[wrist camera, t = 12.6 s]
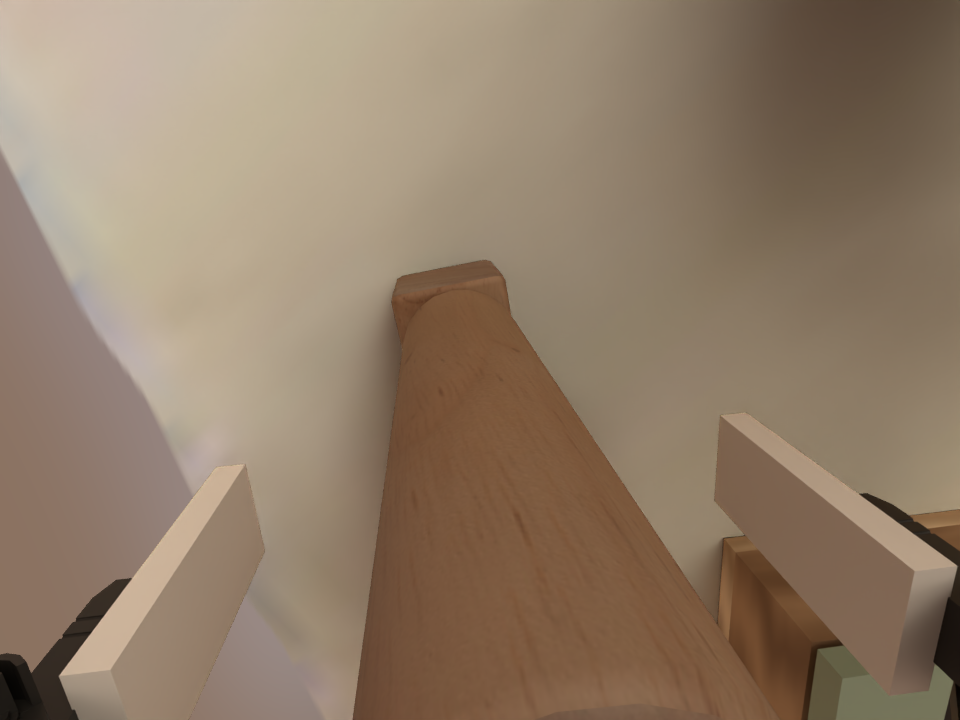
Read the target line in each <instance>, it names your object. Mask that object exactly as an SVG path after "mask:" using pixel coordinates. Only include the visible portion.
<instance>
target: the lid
mask: <svg viewBox="0 0 960 720" xmlns="http://www.w3.org/2000/svg"><path fill="white" fill-rule="evenodd" d="M952 685H953V680H952V679H951V678H949V677H948V676H947V675H946V674H945V673H944V672H943V671H942V670H941V669H940V668H939V667H938V666H937V665H936V664H935V666H934V670H933V674H932V679H931V683H930V687H929V691H922V692H915V693H907V694H900V695H893V696H889V695H888V694H887V693H886V692H885V691H884V689H883V688H882V687H881V686H880V685H879V684H878V683H877V682H876V681H875V679H874V678H873V677H872V676H871V675H870V674H869V673H868V672H867V671H866V669H865V668H864V667H863V666H862V665H861V664H860V663H859V662H858V660H857V659H856V658H855V657H854V656H853V655H852V654H851V653H850V652H849V650H848V649H847V648H846V647H845V646H837V647H830V648H822V649H818V650H817V657H816V664H815V671H814V678H813V685H812V692H811V699H810V706H809V713H808V720H944V718H945V713H946V709H947V705H948V701H949V697H950V693H951V689H952Z"/></svg>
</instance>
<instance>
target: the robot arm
mask: <svg viewBox="0 0 960 720" xmlns="http://www.w3.org/2000/svg"><path fill="white" fill-rule="evenodd" d="M714 501H715V502H716V503H717V504H718V505H719V506H720V507H721V509H722V510H723V511H724V512H725V513H726V514H727V515H728V516H729V518H730V519H731V520H732V521H733V522H734V523H735V524H736V525H737V526H738V528H739V529H740V530H741V531H742V532H743V533H744V534H745V535H746V536H747V538H748V539H749V540H750V541H751V542H752V543H753V544H754V545H755V547H756V548H757V549H758V550H759V551H760V552H761V553H762V554H763V555H764V557H765V558H766V559H767V560H768V561H769V562H770V563H771V564H772V566H773V567H774V568H775V569H776V570H777V571H778V572H779V573H780V574H781V576H782V577H783V578H784V579H785V580H786V581H787V582H788V583H789V585H790V586H791V587H792V588H793V589H794V590H795V591H796V592H797V593H798V595H799V596H800V597H801V598H802V599H803V600H804V601H805V602H806V603H807V605H808V606H809V607H810V608H811V609H812V610H813V611H814V612H815V614H816V615H817V616H818V617H819V618H820V619H821V620H822V621H823V622H824V624H825V625H826V626H827V627H828V628H829V629H830V630H831V631H832V633H833V634H834V635H835V636H836V637H837V638H838V639H839V640H840V641H841V643H842V644H843V645H844V646H845V647H846V648H847V649H848V650H849V652H850V653H851V654H852V655H853V656H854V657H855V658H856V659H857V660H858V662H859V663H860V664H861V665H862V666H863V667H864V668H865V669H866V671H867V672H868V673H869V674H870V675H871V676H872V677H873V678H874V679H875V681H876V682H877V683H878V684H879V685H880V686H881V687H882V688H883V689H884V691H885V692H886V693H887V694H888V695H889V696H893V695H900V694H907V693H915V692H922V691H929V687H930V683H931V679H932V674H933V670H934V666H935V664H936V665H937V666H938V667H939V668H940V669H941V670H942V671H943V672H944V673H945V674H946V675H947V676H948V677H949V678H951V679H952V680H953V685H952V689H951V693H950V697H949V701H948V705H947V709H946V713H945V718H944V720H960V551H959V550H958V549H956V548H955V547H953V546H952V545H950V544H949V543H947V542H946V541H945V540H943V539H942V538H940V537H939V536H937V535H936V534H935V533H933V534H931V533H930V530H929V529H927V528H926V527H924V526H923V525H922V524H920V523H919V522H914V520H913V518H912V517H910V516H909V515H907V514H906V513H904V512H903V511H901V510H900V509H899V508H897V507H896V506H894V505H893V504H890V503H888V502H886V501H883V500H881V499H879V498H877V497H874V496H872V495H870V494H867V493H865V494H858V493H856V492H855V491H854V490H852V489H851V488H849V487H848V486H847V485H845V484H844V483H843V482H841V481H840V480H838V479H837V478H836V477H834V476H833V475H832V474H830V473H829V472H827V471H826V470H825V469H823V468H822V467H821V466H819V465H818V464H816V463H815V462H814V461H812V460H811V459H810V458H808V457H807V456H805V455H804V454H803V453H801V452H800V451H799V450H797V449H796V448H794V447H793V446H792V445H790V444H789V443H787V442H786V441H785V440H783V439H782V438H781V437H779V436H778V435H776V434H775V433H774V432H772V431H771V430H770V429H768V428H767V427H765V426H764V425H763V424H761V423H760V422H759V421H757V420H756V419H754V418H753V417H752V416H750V415H749V414H748V413H737V414H728V415H720V423H719V438H718V453H717V468H716V483H715V497H714ZM264 552H265V549H264V545H263V540H262V536H261V531H260V527H259V522H258V518H257V514H256V509H255V505H254V500H253V496H252V491H251V487H250V482H249V478H248V474H247V469H246V465H245V464H241V465H231V466H222V467H216V468H215V469H214V471H213V472H212V473H211V475H210V476H209V477H208V479H207V480H206V481H205V483H204V484H203V485H202V487H201V488H200V489H199V490H198V492H197V493H196V494H195V496H194V497H193V498H192V500H191V501H190V502H189V504H188V505H187V506H186V508H185V509H184V511H183V512H182V513H181V515H180V516H179V517H178V518H177V520H176V521H175V522H174V524H173V525H172V526H171V528H170V529H169V531H168V532H167V533H166V534H165V536H164V537H163V538H162V540H161V541H160V542H159V544H158V545H157V546H156V548H155V549H154V550H153V552H152V553H151V554H150V556H149V557H148V558H147V560H146V561H145V563H144V564H143V565H142V566H141V568H140V569H139V570H138V572H137V573H136V574H135V576H134V577H133V578H129V579H121V580H116V581H114V582H113V583H112V584H110V585H109V586H108V587H106V588H105V589H104V590H102V591H101V592H100V593H99V594H97V595H96V596H95V597H93V598H92V599H91V601H90V602H89V603H88V604H87V605H86V607H85V608H84V609H83V610H82V612H81V613H80V614H79V615H78V616H77V618H76V622H73V623H72V624H71V625H70V626H69V628H68V629H67V630H66V631H65V633H64V634H63V638H62V639H59V640H58V641H57V642H56V644H55V645H54V646H53V647H52V648H51V650H50V651H49V652H48V653H47V655H46V656H45V657H44V658H43V660H42V661H41V662H40V663H39V665H38V666H37V667H36V668H35V669H34V671H33V672H32V673H31V672H30V670H29V667H28V665H27V663H26V661H25V660H24V659H23V658H22V657H21V656H20V655H16V654H7V653H6V654H1V655H0V720H189V719H190V717H191V715H192V712H193V710H194V708H195V706H196V704H197V701H198V699H199V697H200V695H201V692H202V690H203V688H204V686H205V683H206V681H207V679H208V677H209V675H210V672H211V670H212V668H213V666H214V663H215V661H216V659H217V657H218V654H219V652H220V650H221V647H222V646H223V643H224V641H225V639H226V637H227V634H228V632H229V630H230V628H231V625H232V623H233V621H234V619H235V617H236V614H237V612H238V610H239V608H240V605H241V603H242V601H243V599H244V596H245V594H246V592H247V590H248V588H249V585H250V583H251V581H252V579H253V576H254V574H255V572H256V570H257V567H258V565H259V563H260V561H261V559H262V556H263V554H264Z"/></svg>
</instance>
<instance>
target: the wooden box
mask: <svg viewBox="0 0 960 720" xmlns="http://www.w3.org/2000/svg"><path fill="white" fill-rule="evenodd" d="M910 517H912V518H913V520H914V522H919V523H920V524H922V525H923V526H924V527H926V528H927V529H929V530H930V533H931V534H933V533H935V534H936V535H937V536H939V537H940V538H942V539H943V540H945V541H946V542H947V543H949V544H950V545H952V546H953V547H955V548H956V549H958V550H959V551H960V510H953V511H945V512H936V513H928V514H920V515H912V516H910ZM718 626H719V628H720V629H721V631H722V632H723V634H724V635H725V637H726V638H727V640H728V641H729V643H730V644H731V646H732V647H733V649H734V650H735V652H736V653H737V655H738V656H739V658H740V659H741V661H742V662H743V664H744V665H745V667H746V668H747V670H748V671H749V673H750V674H751V676H752V677H753V679H754V680H755V682H756V683H757V685H758V686H759V688H760V689H761V691H762V692H763V694H764V695H765V697H766V698H767V700H768V701H769V703H770V704H771V706H772V707H773V709H774V710H775V712H776V713H777V715H778V716H779V718H780V719H781V720H808V713H809V706H810V699H811V692H812V685H813V678H814V671H815V664H816V657H817V650H818V649H822V648H830V647H837V646H844V645H843V644H842V643H841V641H840V640H839V639H838V638H837V637H836V636H835V635H834V634H833V633H832V631H831V630H830V629H829V628H828V627H827V626H826V625H825V624H824V622H823V621H822V620H821V619H820V618H819V617H818V616H817V615H816V614H815V612H814V611H813V610H812V609H811V608H810V607H809V606H808V605H807V603H806V602H805V601H804V600H803V599H802V598H801V597H800V596H799V595H798V593H797V592H796V591H795V590H794V589H793V588H792V587H791V586H790V585H789V583H788V582H787V581H786V580H785V579H784V578H783V577H782V576H781V574H780V573H779V572H778V571H777V570H776V569H775V568H774V567H773V566H772V564H771V563H770V562H769V561H768V560H767V559H766V558H765V557H764V555H763V554H762V553H761V552H760V551H759V550H758V549H757V548H756V547H755V545H754V544H753V543H752V542H751V541H750V540H749V539H748V538H747V536H740V537H732V538H724V544H723V558H722V572H721V585H720V599H719V613H718Z"/></svg>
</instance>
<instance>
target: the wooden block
mask: <svg viewBox="0 0 960 720" xmlns="http://www.w3.org/2000/svg"><path fill="white" fill-rule="evenodd" d="M391 303H392V307H393V311H394V315H395V320H396V324H397V328H398V333H399V337H400V341H401V345H402V356H401V364H400V371H399V379H398V386H397V394H396V401H395V408H394V416H393V423H392V431H391V438H390V446H389V453H388V460H387V468H386V475H385V483H384V490H383V498H382V505H381V512H380V520H379V527H378V535H377V542H376V550H375V557H374V564H373V572H372V579H371V587H370V594H369V602H368V609H367V617H366V624H365V631H364V639H363V646H362V654H361V661H360V669H359V676H358V683H357V691H356V698H355V706H354V713H353V720H781V719H780V718H779V716H778V715H777V713H776V712H775V710H774V709H773V707H772V706H771V704H770V703H769V701H768V700H767V698H766V697H765V695H764V694H763V692H762V691H761V689H760V688H759V686H758V685H757V683H756V682H755V680H754V679H753V677H752V676H751V674H750V673H749V671H748V670H747V668H746V667H745V665H744V664H743V662H742V661H741V659H740V658H739V656H738V655H737V653H736V652H735V650H734V649H733V647H732V646H731V644H730V643H729V641H728V640H727V638H726V637H725V635H724V634H723V632H722V631H721V629H720V628H719V626H718V625H717V623H716V622H715V620H714V619H713V617H712V616H711V614H710V613H709V611H708V610H707V608H706V607H705V605H704V604H703V602H702V601H701V599H700V598H699V596H698V595H697V593H696V592H695V590H694V589H693V587H692V586H691V584H690V583H689V581H688V580H687V578H686V577H685V575H684V574H683V572H682V571H681V569H680V568H679V566H678V565H677V564H676V562H675V561H674V559H673V558H672V556H671V555H670V553H669V552H668V550H667V549H666V547H665V546H664V544H663V543H662V541H661V540H660V538H659V537H658V535H657V534H656V532H655V531H654V529H653V528H652V526H651V525H650V523H649V522H648V520H647V519H646V517H645V516H644V514H643V513H642V511H641V510H640V508H639V507H638V505H637V504H636V502H635V501H634V499H633V498H632V496H631V495H630V493H629V492H628V490H627V489H626V487H625V486H624V484H623V483H622V481H621V480H620V478H619V477H618V475H617V474H616V472H615V471H614V469H613V468H612V466H611V465H610V463H609V462H608V460H607V459H606V457H605V456H604V454H603V453H602V451H601V450H600V448H599V447H598V445H597V444H596V442H595V441H594V439H593V438H592V436H591V435H590V433H589V432H588V430H587V429H586V427H585V426H584V424H583V423H582V421H581V420H580V418H579V417H578V415H577V414H576V412H575V411H574V409H573V408H572V406H571V405H570V403H569V402H568V400H567V399H566V397H565V396H564V394H563V393H562V391H561V390H560V388H559V387H558V385H557V384H556V382H555V381H554V379H553V378H552V376H551V375H550V373H549V372H548V370H547V369H546V367H545V366H544V364H543V363H542V361H541V360H540V358H539V357H538V355H537V354H536V352H535V351H534V349H533V348H532V346H531V345H530V343H529V342H528V340H527V339H526V337H525V336H524V334H523V333H522V331H521V330H520V328H519V327H518V325H517V324H516V322H515V321H514V319H513V318H512V317H511V312H510V306H509V300H508V294H507V288H506V282H505V279H504V277H503V276H502V274H501V273H500V272H499V271H498V269H497V268H496V267H495V266H494V265H493V264H492V263H491V261H487V260H482V261H476V262H471V263H466V264H461V265H456V266H451V267H446V268H440V269H435V270H430V271H425V272H420V273H415V274H409V275H404V276H402V277H400V278H399V279H397V282H396V285H395V289H394V292H393V296H392V302H391Z"/></svg>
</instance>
